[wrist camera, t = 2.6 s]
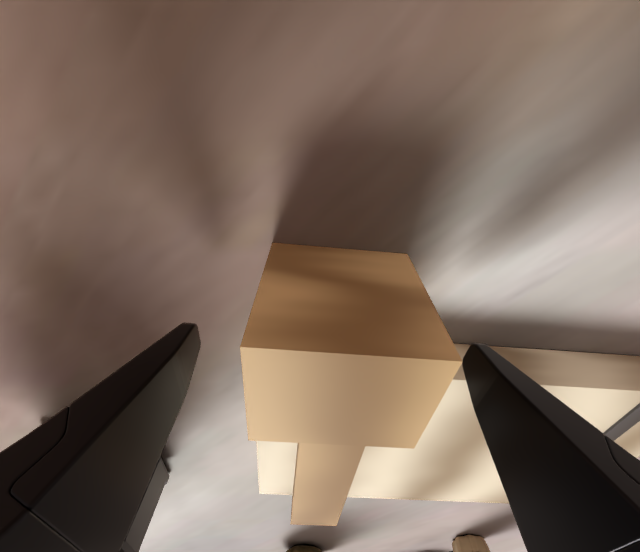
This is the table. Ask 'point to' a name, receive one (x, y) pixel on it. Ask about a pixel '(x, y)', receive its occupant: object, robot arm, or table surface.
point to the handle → (469, 544)
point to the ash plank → (480, 431)
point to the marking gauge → (341, 364)
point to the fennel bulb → (304, 549)
